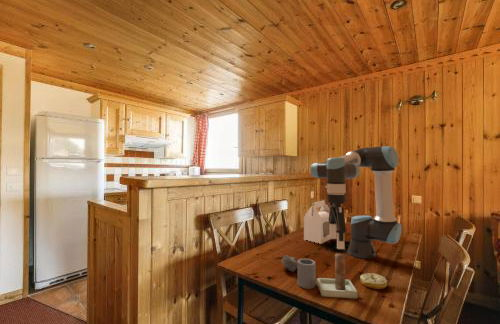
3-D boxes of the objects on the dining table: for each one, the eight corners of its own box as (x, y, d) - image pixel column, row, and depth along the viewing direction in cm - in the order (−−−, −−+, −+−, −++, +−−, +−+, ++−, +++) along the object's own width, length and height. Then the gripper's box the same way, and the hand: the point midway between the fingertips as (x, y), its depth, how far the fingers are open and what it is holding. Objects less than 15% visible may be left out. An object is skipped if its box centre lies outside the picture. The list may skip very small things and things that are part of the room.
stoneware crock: (313, 281, 112) (313, 259, 112) (316, 289, 104) (316, 265, 105) (296, 280, 113) (297, 258, 113) (298, 287, 105) (298, 264, 105)
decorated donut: (358, 278, 116) (358, 270, 116) (384, 281, 113) (383, 273, 113) (362, 288, 106) (362, 279, 106) (389, 292, 103) (389, 283, 103)
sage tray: (349, 285, 108) (349, 279, 108) (357, 298, 97) (357, 292, 97) (317, 283, 109) (317, 277, 110) (321, 296, 99) (321, 289, 99)
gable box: (318, 234, 193) (318, 198, 193) (334, 237, 184) (334, 200, 184) (303, 240, 176) (303, 201, 177) (320, 244, 167) (320, 203, 168)
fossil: (305, 271, 122) (305, 255, 122) (293, 277, 116) (293, 260, 116) (288, 265, 130) (288, 250, 130) (276, 269, 124) (276, 253, 125)
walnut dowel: (343, 287, 105) (347, 254, 105) (346, 292, 101) (349, 257, 101) (330, 285, 105) (334, 252, 106) (332, 289, 101) (336, 255, 102)
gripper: (321, 190, 117) (322, 234, 117) (333, 197, 92) (334, 253, 92) (338, 190, 116) (338, 235, 116) (354, 197, 92) (355, 254, 91)
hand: (336, 243), depth 104 cm, fingers open, 13 cm apart
